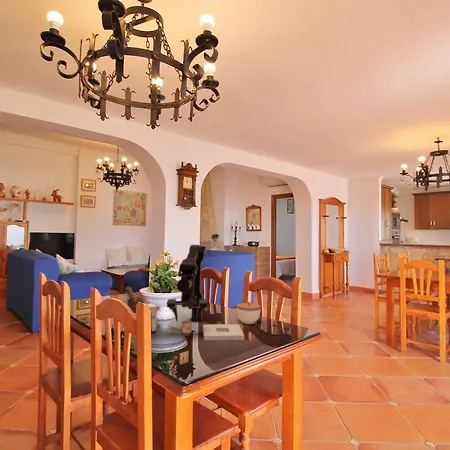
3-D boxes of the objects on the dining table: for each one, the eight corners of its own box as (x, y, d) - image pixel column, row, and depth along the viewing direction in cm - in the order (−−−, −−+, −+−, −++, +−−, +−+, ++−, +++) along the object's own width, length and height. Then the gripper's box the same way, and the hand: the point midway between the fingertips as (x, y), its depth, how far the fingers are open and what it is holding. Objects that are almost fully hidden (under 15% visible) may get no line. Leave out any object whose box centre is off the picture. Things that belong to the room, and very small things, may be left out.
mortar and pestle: (138, 328, 161) (139, 287, 161) (121, 327, 161) (123, 287, 162) (145, 321, 172) (147, 284, 173) (130, 321, 173) (131, 283, 173)
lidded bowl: (248, 327, 167) (249, 305, 167) (232, 321, 176) (232, 301, 176) (265, 323, 175) (265, 302, 175) (248, 318, 184) (248, 298, 185)
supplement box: (140, 334, 151) (141, 307, 151) (137, 330, 157) (138, 304, 157) (156, 332, 154) (157, 306, 154) (152, 328, 160) (153, 302, 161)
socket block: (202, 328, 162) (203, 324, 162) (238, 328, 164) (238, 324, 164) (204, 340, 144) (204, 335, 144) (244, 340, 146) (244, 335, 146)
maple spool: (181, 333, 154) (182, 320, 155) (191, 332, 155) (191, 320, 155) (181, 335, 150) (181, 322, 150) (191, 335, 150) (191, 322, 151)
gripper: (166, 291, 144) (165, 326, 144) (208, 291, 146) (207, 326, 146) (168, 287, 155) (167, 319, 155) (207, 287, 157) (206, 319, 157)
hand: (186, 321), depth 153 cm, fingers open, 9 cm apart
